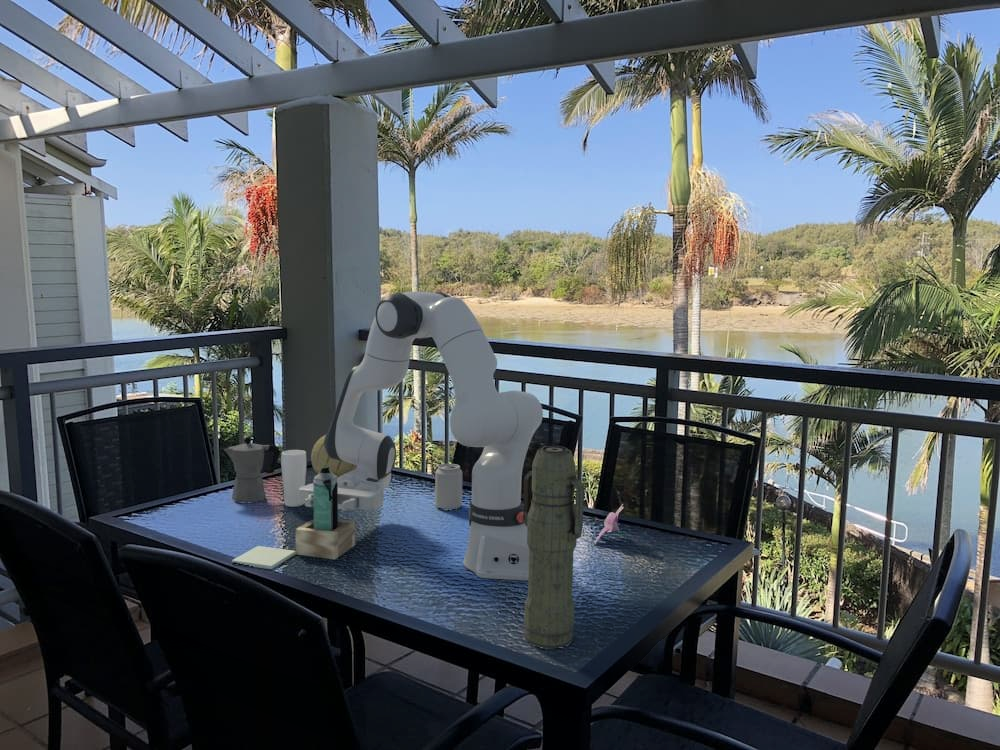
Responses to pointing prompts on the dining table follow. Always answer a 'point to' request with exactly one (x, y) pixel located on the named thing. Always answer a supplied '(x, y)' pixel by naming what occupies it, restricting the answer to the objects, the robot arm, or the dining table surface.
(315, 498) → the spray can
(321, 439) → the cantaloupe
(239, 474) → the coffeepot
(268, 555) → the sage pad
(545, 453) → the olive green cylinder
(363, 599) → the dining table surface
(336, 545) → the can holder
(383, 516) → the dining table surface
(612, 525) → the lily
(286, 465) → the drinking glass
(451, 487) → the can
